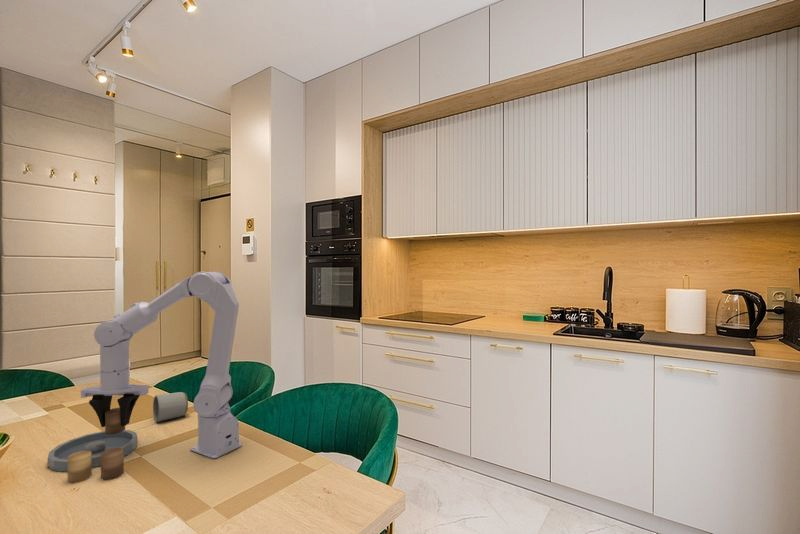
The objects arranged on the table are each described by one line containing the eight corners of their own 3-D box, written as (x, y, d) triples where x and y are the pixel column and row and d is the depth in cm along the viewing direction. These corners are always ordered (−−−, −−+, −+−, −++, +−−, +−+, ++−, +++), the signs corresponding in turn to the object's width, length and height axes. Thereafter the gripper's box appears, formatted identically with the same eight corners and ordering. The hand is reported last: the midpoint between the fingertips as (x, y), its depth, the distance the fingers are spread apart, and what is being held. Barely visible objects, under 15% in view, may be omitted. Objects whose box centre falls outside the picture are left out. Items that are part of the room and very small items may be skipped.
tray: (151, 447, 99) (150, 438, 99) (68, 479, 84) (68, 468, 84) (116, 433, 108) (116, 425, 108) (35, 460, 93) (35, 450, 93)
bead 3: (127, 473, 87) (127, 450, 87) (106, 482, 83) (106, 458, 83) (118, 468, 89) (117, 446, 89) (97, 477, 85) (97, 454, 85)
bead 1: (95, 476, 86) (94, 453, 86) (72, 484, 82) (72, 461, 82) (86, 471, 88) (86, 448, 88) (64, 479, 84) (64, 456, 84)
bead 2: (129, 427, 98) (129, 407, 98) (116, 434, 94) (116, 413, 94) (114, 427, 99) (114, 407, 99) (100, 434, 95) (100, 413, 95)
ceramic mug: (189, 417, 119) (189, 392, 119) (158, 425, 113) (158, 398, 113) (179, 409, 126) (178, 385, 126) (149, 416, 121) (149, 391, 121)
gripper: (154, 364, 101) (155, 417, 101) (94, 366, 100) (94, 419, 100) (139, 371, 94) (139, 428, 94) (74, 373, 93) (74, 431, 93)
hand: (115, 425), depth 96 cm, fingers closed on bead 2, 4 cm apart
